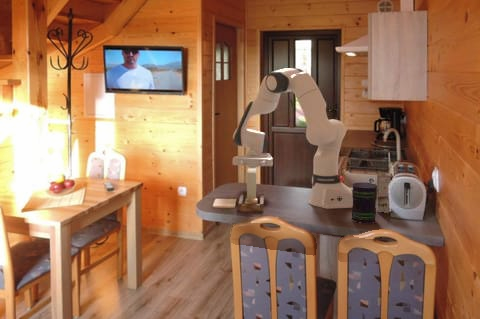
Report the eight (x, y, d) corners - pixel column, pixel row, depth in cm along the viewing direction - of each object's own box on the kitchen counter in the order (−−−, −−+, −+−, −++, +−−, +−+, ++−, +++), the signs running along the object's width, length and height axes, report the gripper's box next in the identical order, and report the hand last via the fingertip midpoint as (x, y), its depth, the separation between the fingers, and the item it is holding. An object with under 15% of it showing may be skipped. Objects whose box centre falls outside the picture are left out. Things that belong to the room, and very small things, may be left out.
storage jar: (373, 217, 208) (374, 182, 206) (378, 224, 199) (379, 188, 196) (349, 216, 209) (350, 182, 207) (353, 223, 199) (354, 187, 197)
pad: (236, 200, 236) (236, 199, 236) (234, 207, 223) (234, 206, 223) (215, 200, 236) (215, 198, 236) (212, 207, 224) (212, 205, 223)
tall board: (256, 201, 234) (256, 168, 231) (255, 207, 224) (255, 172, 221) (247, 201, 234) (247, 168, 231) (246, 207, 224) (246, 172, 222)
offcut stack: (257, 208, 222) (257, 198, 221) (257, 210, 219) (257, 200, 218) (244, 208, 222) (244, 198, 221) (244, 210, 219) (244, 199, 218)
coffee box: (392, 213, 214) (394, 177, 211) (376, 212, 215) (378, 176, 213) (390, 207, 223) (392, 172, 220) (375, 207, 224) (377, 172, 221)
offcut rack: (263, 201, 235) (263, 194, 234) (263, 211, 217) (263, 203, 216) (240, 200, 235) (240, 193, 235) (238, 211, 217) (238, 203, 217)
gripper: (233, 152, 254) (231, 157, 240) (272, 153, 253) (273, 158, 239) (232, 164, 255) (231, 169, 242) (272, 165, 254) (272, 170, 241)
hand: (252, 163), depth 240 cm, fingers open, 8 cm apart
